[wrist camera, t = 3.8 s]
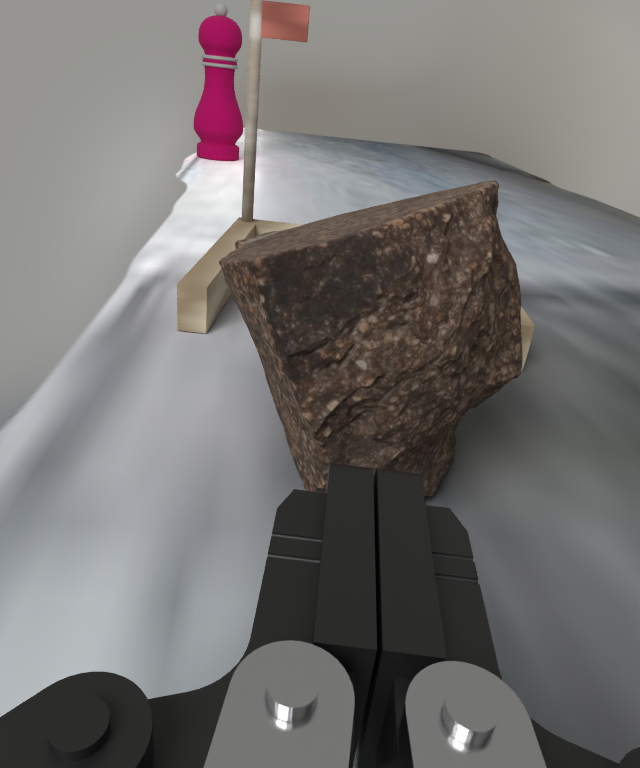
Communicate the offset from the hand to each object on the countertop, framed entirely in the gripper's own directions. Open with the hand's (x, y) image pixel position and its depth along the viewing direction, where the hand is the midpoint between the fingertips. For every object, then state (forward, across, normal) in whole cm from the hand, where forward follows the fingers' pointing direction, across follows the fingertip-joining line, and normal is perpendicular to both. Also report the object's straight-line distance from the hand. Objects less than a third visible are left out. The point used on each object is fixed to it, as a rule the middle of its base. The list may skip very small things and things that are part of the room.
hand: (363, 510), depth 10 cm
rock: (+10, 0, +6) cm, 12 cm away
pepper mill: (+87, +22, +6) cm, 90 cm away
